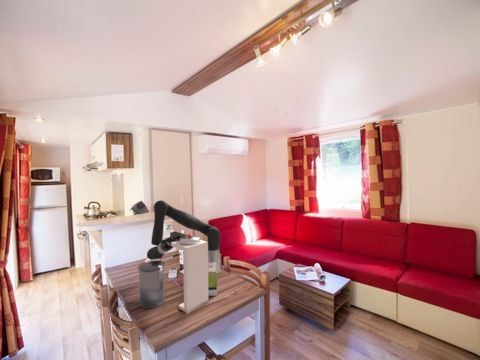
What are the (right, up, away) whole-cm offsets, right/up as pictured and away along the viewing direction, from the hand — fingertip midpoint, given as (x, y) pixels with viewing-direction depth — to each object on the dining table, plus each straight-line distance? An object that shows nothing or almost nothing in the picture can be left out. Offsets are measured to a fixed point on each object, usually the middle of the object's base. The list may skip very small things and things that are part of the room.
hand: (177, 236), depth 133 cm
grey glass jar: (-13, -36, -6) cm, 38 cm away
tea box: (+18, -35, +7) cm, 40 cm away
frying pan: (-26, -36, +54) cm, 70 cm away
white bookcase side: (+9, -35, -7) cm, 37 cm away
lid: (+4, -1, -3) cm, 6 cm away
